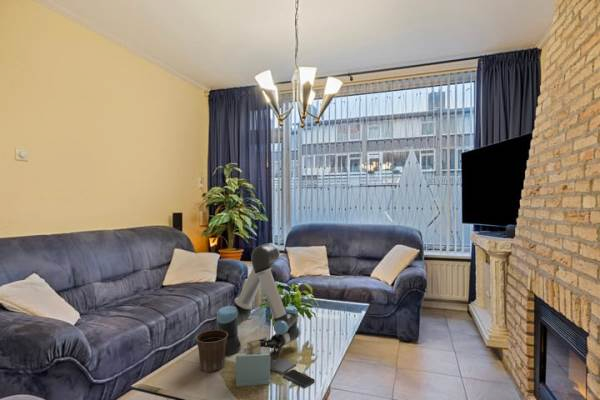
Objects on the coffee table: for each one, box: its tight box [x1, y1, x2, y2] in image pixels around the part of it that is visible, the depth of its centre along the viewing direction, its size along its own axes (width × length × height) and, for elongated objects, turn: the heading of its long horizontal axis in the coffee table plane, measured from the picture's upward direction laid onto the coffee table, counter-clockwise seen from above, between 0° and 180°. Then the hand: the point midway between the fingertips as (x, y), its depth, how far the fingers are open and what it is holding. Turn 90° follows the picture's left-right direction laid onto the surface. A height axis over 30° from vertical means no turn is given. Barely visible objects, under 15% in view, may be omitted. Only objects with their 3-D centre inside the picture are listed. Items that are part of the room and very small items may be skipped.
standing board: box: [235, 353, 271, 387], centre depth 163 cm, size 5×16×13 cm, turn 97°
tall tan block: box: [246, 338, 261, 355], centre depth 176 cm, size 5×5×14 cm
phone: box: [282, 369, 316, 389], centre depth 166 cm, size 8×1×15 cm
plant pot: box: [195, 329, 228, 373], centre depth 178 cm, size 16×16×16 cm
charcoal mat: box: [270, 357, 297, 375], centre depth 178 cm, size 11×11×1 cm
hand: (253, 354), depth 175 cm, fingers open, 13 cm apart
